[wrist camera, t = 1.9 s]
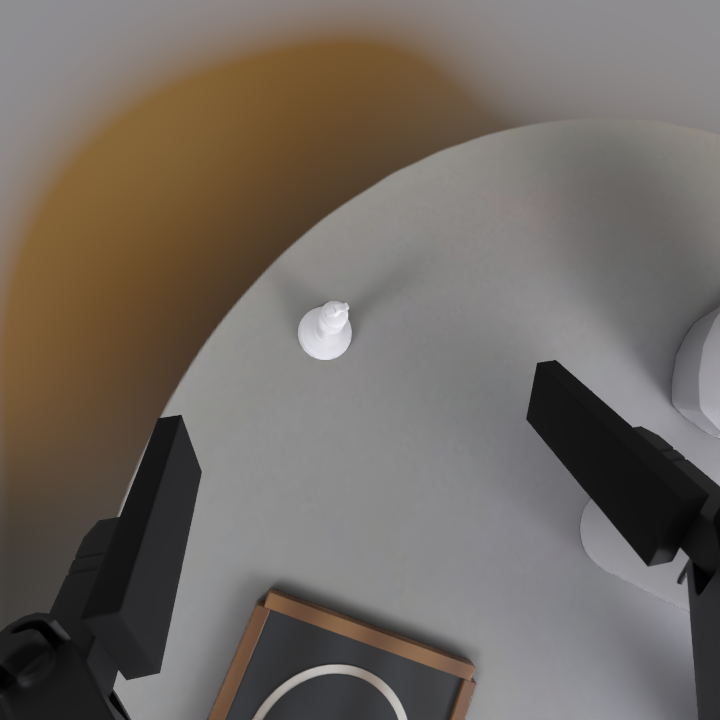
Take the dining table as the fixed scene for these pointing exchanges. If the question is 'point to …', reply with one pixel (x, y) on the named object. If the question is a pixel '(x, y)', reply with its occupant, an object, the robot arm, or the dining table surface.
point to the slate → (336, 670)
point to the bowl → (699, 375)
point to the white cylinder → (631, 559)
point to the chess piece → (326, 331)
